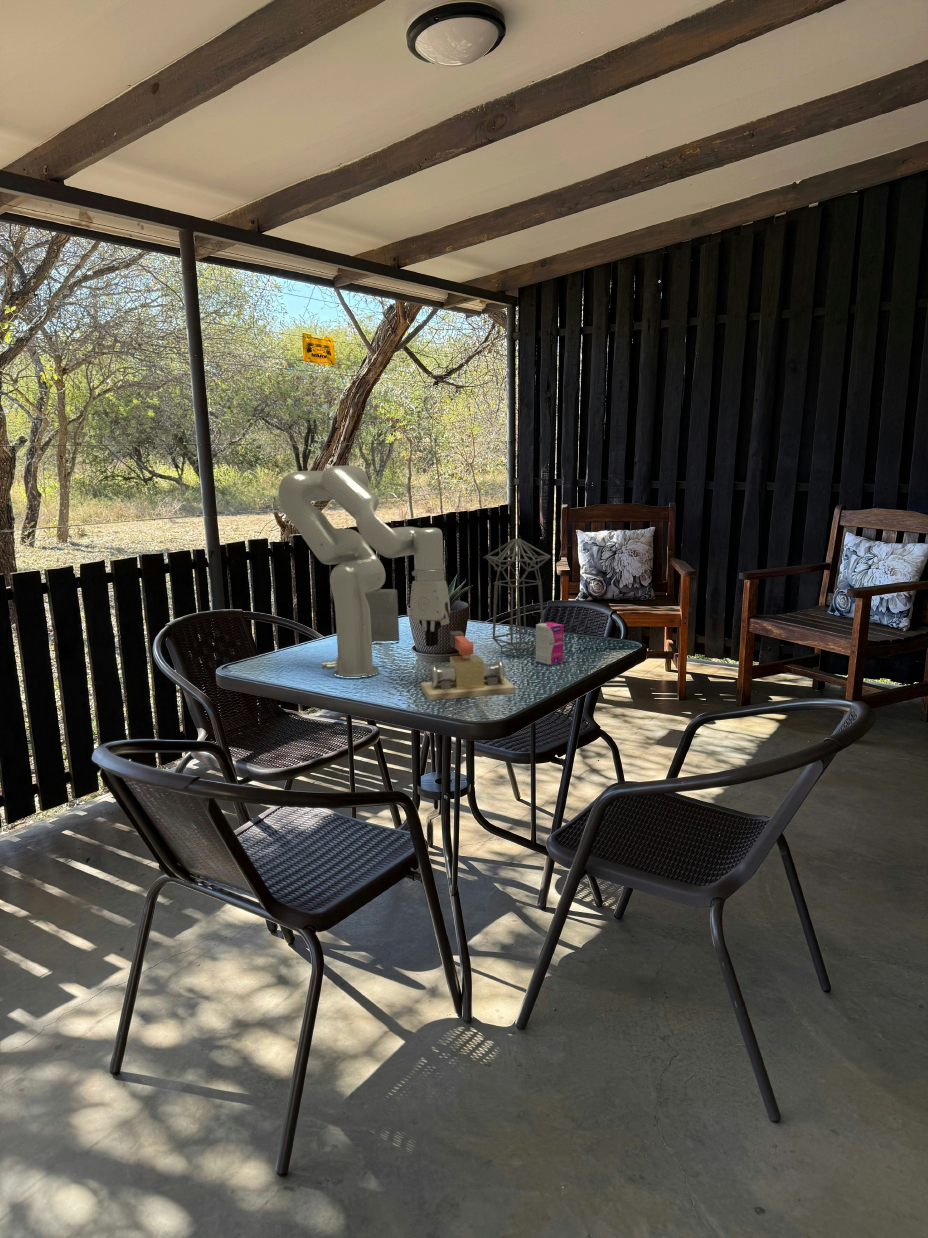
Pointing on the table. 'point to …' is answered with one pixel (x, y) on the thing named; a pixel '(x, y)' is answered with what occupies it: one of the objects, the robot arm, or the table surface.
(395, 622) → the flask
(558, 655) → the supplement box
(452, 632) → the valve lever
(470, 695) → the mounting board
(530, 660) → the table surface
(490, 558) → the geometric lantern
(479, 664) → the pipe valve
